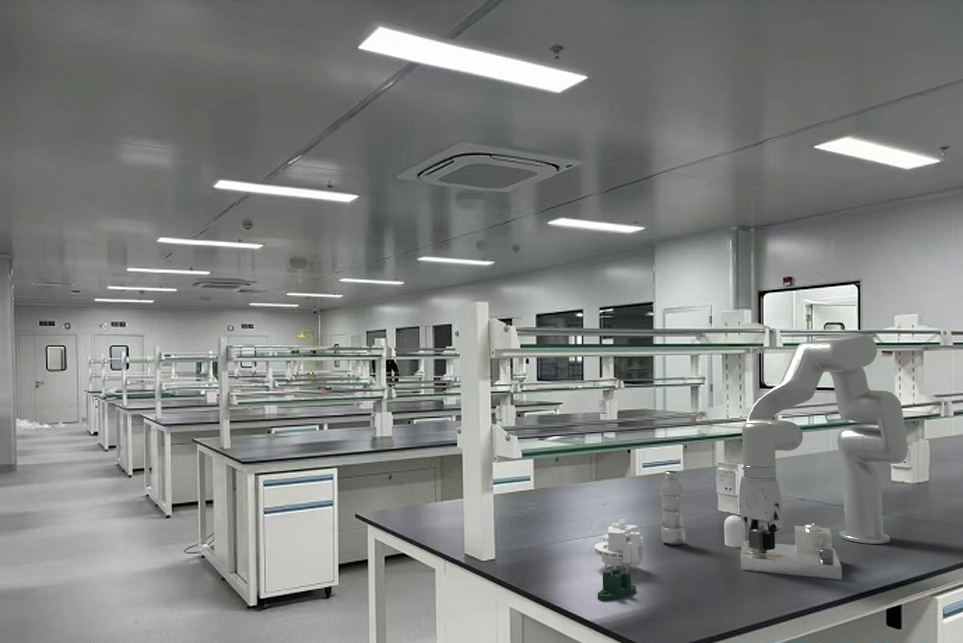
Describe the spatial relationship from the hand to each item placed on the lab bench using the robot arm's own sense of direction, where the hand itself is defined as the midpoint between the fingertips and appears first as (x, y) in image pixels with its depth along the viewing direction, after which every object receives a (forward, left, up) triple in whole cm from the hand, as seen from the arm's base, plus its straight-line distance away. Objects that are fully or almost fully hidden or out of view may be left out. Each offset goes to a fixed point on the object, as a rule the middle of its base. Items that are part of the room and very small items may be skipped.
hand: (762, 546), depth 168 cm
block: (0, 0, -2) cm, 2 cm away
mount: (+32, -30, -5) cm, 44 cm away
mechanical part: (+14, -33, -5) cm, 36 cm away
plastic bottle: (-14, -23, -5) cm, 27 cm away
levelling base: (-4, +6, -5) cm, 9 cm away
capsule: (-19, -7, -5) cm, 21 cm away
